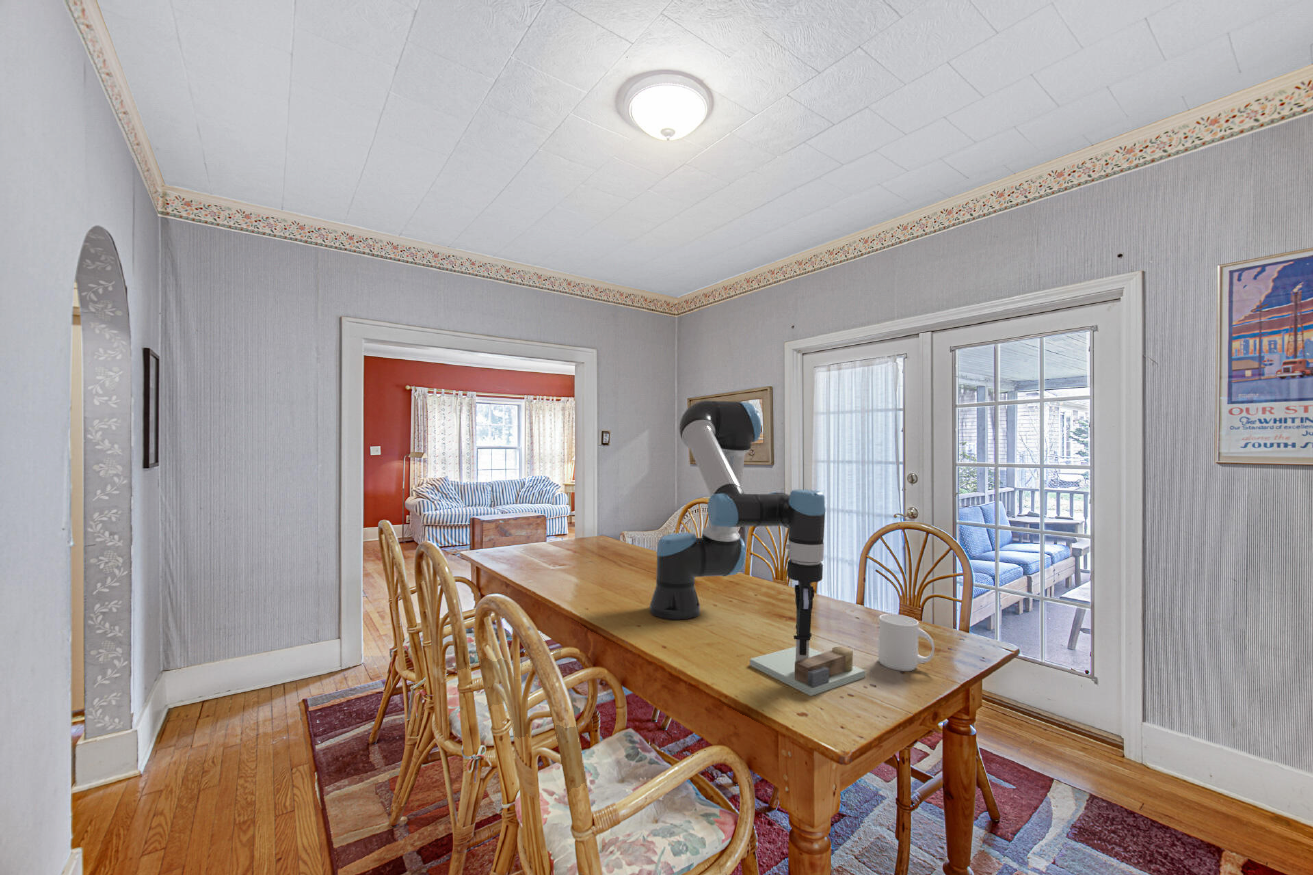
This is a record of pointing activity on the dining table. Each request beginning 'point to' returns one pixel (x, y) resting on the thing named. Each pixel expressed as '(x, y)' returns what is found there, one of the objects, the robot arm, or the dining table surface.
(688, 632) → the dining table surface
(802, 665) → the leg
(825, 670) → the block
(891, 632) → the mug
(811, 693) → the seat board
